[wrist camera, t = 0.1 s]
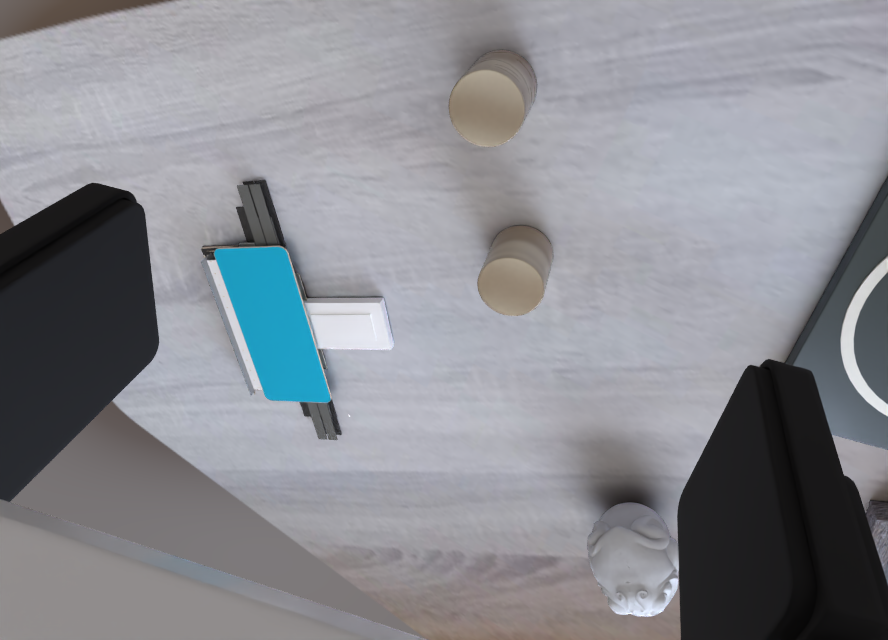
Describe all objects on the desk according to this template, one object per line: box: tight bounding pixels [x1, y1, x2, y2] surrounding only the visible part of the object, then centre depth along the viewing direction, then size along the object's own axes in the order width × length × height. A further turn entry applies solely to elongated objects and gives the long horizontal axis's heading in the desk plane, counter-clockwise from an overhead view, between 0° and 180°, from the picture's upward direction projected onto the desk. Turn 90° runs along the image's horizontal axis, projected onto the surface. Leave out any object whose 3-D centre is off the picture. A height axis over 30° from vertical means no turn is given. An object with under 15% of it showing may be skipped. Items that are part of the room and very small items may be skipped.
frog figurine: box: [587, 502, 679, 617], centre depth 47 cm, size 6×7×7 cm
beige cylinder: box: [478, 225, 553, 316], centre depth 39 cm, size 4×4×4 cm
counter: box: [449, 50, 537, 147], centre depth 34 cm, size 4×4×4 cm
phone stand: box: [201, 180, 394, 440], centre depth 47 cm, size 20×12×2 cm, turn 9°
